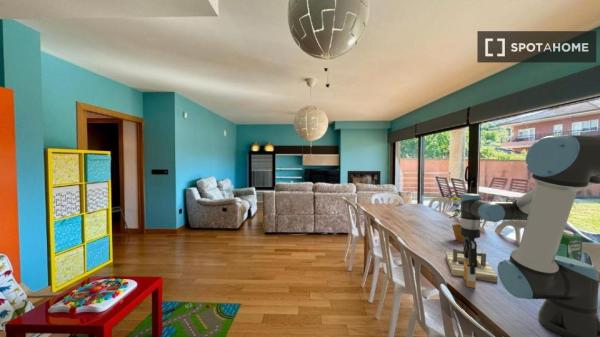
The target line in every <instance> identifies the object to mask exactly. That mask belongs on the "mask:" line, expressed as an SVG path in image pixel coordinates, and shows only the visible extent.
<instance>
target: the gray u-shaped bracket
mask: <svg viewBox="0 0 600 337" xmlns="http://www.w3.org/2000/svg"><path fill="white" fill-rule="evenodd" d="M452 253H453V261H456V262H457V254H463V249H458V248H453V249H452ZM477 256H479V257H481V265H484V266H486V261H487V253H486V252H481V251H477Z"/></svg>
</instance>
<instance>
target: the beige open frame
mask: <svg viewBox="0 0 600 337" xmlns="http://www.w3.org/2000/svg"><path fill="white" fill-rule="evenodd" d="M464 258H465V257H464V255H463V254H459V253H457V262H456V261H453V252H445V259H446V261H447V263H448V267H449V271H450V273H451V275H452V276H457V277H463V278H464V266H461V265H460V264H464ZM476 280H479V281H480V280H481V281H488V282H493V283H498V274H497V272H495V270H494V269H493V268H492V266H491V265H490V264H489V262H488V261H487V260H486V266H484V265H481V256H477V268H476Z"/></svg>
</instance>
